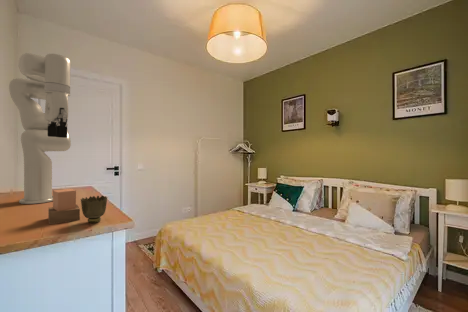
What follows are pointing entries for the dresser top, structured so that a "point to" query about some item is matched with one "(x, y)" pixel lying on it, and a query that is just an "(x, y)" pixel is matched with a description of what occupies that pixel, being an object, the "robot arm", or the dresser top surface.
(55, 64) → the robot arm
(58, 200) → the terracotta block
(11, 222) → the dresser top surface
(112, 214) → the dresser top surface
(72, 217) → the walnut block
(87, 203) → the cup
